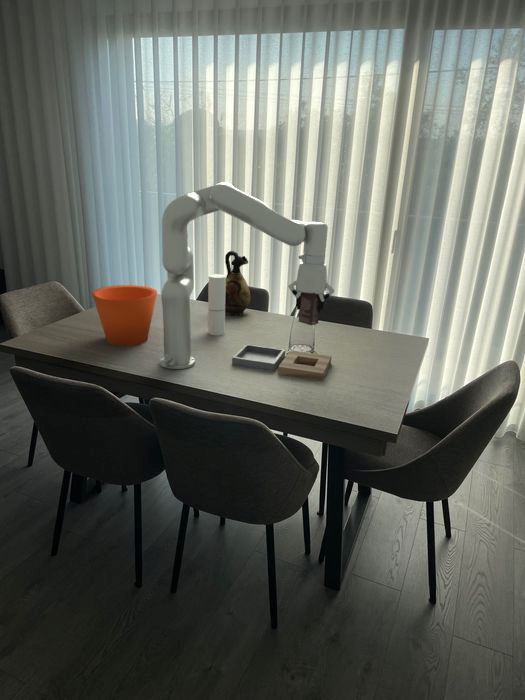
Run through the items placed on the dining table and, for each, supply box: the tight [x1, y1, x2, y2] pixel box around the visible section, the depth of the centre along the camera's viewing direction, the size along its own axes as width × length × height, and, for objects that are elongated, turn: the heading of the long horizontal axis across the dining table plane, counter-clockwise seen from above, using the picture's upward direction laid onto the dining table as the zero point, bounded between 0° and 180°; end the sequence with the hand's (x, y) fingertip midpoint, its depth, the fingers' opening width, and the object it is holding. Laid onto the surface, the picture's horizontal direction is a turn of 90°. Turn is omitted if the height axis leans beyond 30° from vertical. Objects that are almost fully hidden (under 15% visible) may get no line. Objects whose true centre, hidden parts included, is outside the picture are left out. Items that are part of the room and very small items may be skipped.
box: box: [298, 292, 320, 326], centre depth 180 cm, size 6×4×12 cm
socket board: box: [277, 349, 332, 382], centre depth 187 cm, size 18×16×3 cm
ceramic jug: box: [224, 250, 251, 316], centre depth 249 cm, size 17×15×30 cm
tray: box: [231, 343, 286, 372], centre depth 193 cm, size 16×16×3 cm
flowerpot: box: [91, 284, 158, 347], centre depth 206 cm, size 25×25×20 cm
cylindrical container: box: [207, 273, 227, 336], centre depth 218 cm, size 7×7×25 cm
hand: (309, 309), depth 180 cm, fingers closed on box, 7 cm apart
